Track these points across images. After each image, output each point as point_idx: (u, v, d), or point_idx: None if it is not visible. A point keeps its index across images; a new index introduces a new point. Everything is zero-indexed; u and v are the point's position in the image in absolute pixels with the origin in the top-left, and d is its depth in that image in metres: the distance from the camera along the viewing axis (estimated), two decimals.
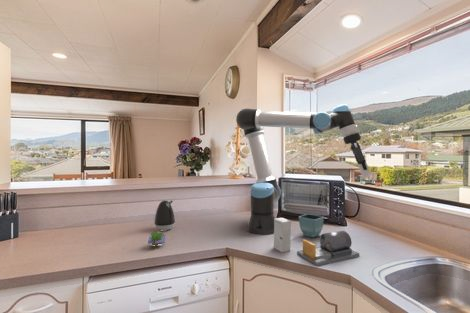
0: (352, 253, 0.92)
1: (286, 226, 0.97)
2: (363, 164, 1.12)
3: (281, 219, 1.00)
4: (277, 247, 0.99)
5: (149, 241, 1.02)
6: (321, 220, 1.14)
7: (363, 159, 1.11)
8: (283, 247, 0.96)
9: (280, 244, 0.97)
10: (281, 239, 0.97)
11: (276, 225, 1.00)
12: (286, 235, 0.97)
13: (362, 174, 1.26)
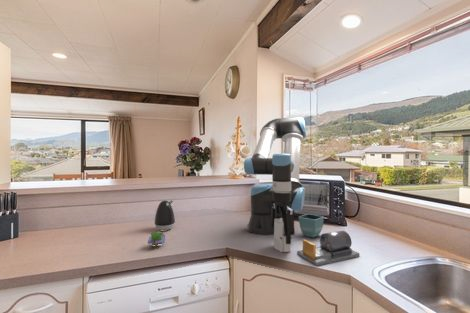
0: (352, 253, 0.92)
1: None
2: None
3: (281, 219, 1.00)
4: (277, 247, 0.99)
5: (149, 241, 1.02)
6: (321, 220, 1.14)
7: None
8: (283, 247, 0.96)
9: (280, 244, 0.97)
10: (281, 239, 0.97)
11: (276, 225, 1.00)
12: None
13: None
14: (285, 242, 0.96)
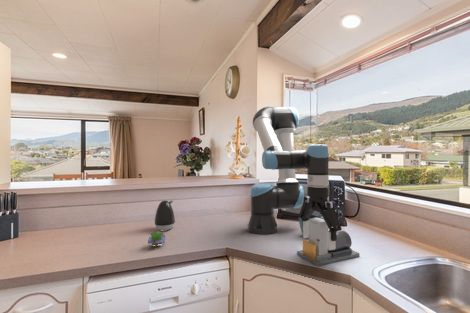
0: (352, 253, 0.92)
1: (324, 227, 0.89)
2: None
3: (317, 219, 0.91)
4: None
5: (149, 241, 1.02)
6: None
7: None
8: (320, 249, 0.88)
9: (317, 246, 0.89)
10: (318, 241, 0.88)
11: (312, 226, 0.91)
12: (323, 237, 0.89)
13: None
14: (330, 239, 0.84)
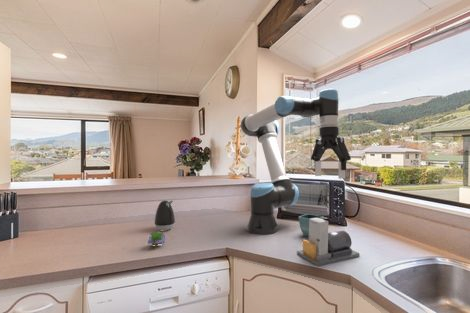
0: (352, 253, 0.92)
1: (324, 227, 0.89)
2: None
3: (317, 219, 0.91)
4: None
5: (149, 241, 1.02)
6: None
7: None
8: (320, 249, 0.88)
9: (317, 246, 0.89)
10: (318, 241, 0.88)
11: (312, 226, 0.91)
12: (324, 237, 0.89)
13: (343, 177, 0.98)
14: (340, 169, 0.97)
